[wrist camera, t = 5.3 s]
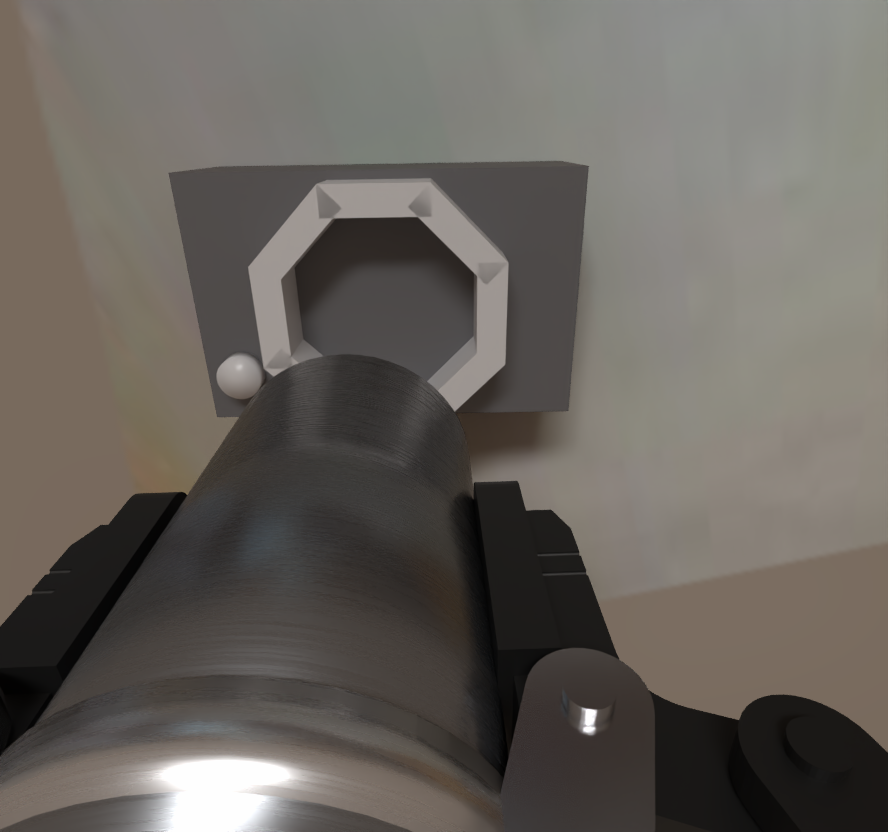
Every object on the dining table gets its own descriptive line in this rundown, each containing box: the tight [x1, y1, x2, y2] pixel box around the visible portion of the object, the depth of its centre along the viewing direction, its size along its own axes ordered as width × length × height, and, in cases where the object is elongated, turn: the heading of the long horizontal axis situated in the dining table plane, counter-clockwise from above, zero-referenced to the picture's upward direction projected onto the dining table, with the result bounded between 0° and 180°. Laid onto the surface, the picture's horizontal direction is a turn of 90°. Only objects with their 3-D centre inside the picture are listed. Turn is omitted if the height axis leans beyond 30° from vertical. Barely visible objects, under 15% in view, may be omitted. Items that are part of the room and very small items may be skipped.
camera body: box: [169, 161, 589, 417], centre depth 23 cm, size 14×9×7 cm, turn 91°
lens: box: [0, 354, 509, 832], centre depth 8 cm, size 5×5×9 cm
